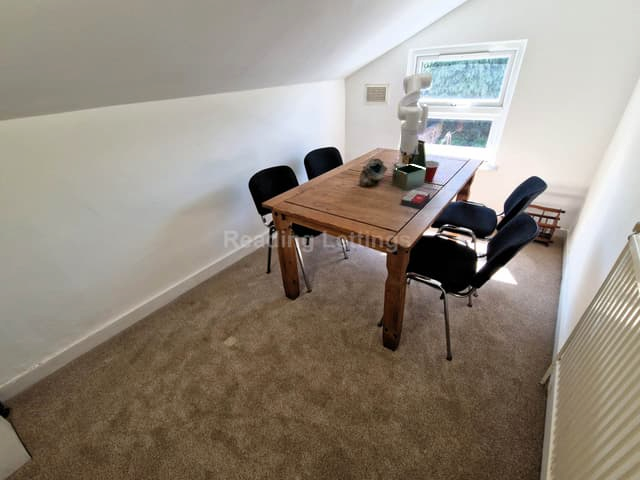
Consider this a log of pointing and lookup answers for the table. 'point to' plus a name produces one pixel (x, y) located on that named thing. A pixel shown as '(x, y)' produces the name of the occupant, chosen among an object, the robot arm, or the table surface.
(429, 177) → the plastic cup
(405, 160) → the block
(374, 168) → the hollow geode rock
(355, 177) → the table surface
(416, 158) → the bin lid
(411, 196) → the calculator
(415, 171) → the bin
